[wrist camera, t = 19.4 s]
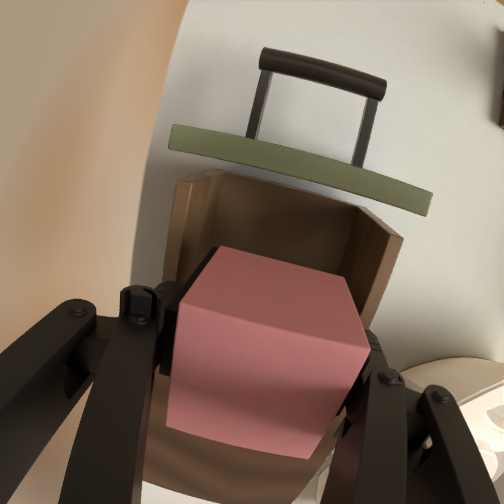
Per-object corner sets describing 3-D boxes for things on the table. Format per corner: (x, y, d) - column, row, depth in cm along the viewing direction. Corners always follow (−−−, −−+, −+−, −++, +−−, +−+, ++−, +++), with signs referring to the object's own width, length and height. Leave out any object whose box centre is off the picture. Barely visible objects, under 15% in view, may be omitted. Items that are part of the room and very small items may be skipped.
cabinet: (182, 279, 26) (126, 350, 16) (339, 319, 26) (360, 408, 16) (167, 404, 31) (133, 477, 21) (287, 434, 31) (282, 514, 21)
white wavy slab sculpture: (448, 295, 24) (508, 363, 14) (536, 337, 24) (583, 389, 14) (288, 494, 35) (283, 554, 25) (379, 505, 36) (386, 556, 26)
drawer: (232, 62, 20) (200, 16, 12) (400, 106, 19) (457, 86, 11) (182, 310, 26) (141, 374, 18) (325, 346, 26) (334, 422, 18)
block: (220, 244, 12) (178, 302, 8) (344, 276, 12) (371, 349, 7) (200, 347, 14) (164, 426, 9) (306, 373, 14) (308, 459, 9)
